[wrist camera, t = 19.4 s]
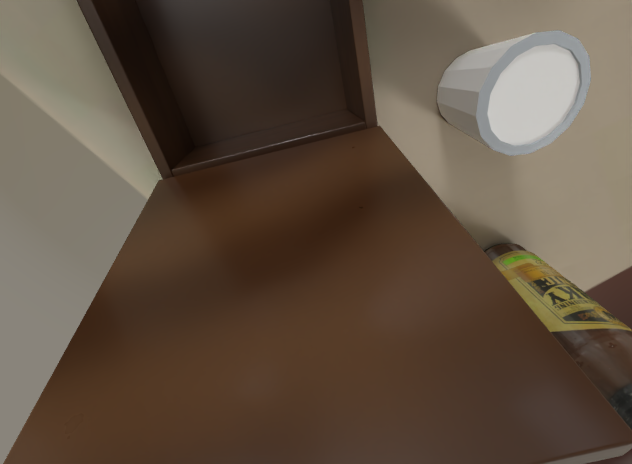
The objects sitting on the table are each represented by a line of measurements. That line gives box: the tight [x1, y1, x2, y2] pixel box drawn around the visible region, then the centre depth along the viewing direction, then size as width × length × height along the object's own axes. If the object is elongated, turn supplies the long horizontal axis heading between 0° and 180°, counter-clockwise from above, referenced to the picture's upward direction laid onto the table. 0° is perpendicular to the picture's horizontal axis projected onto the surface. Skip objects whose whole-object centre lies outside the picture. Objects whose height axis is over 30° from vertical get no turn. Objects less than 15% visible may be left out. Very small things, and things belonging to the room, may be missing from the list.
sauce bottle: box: [485, 244, 632, 430], centre depth 24 cm, size 6×6×20 cm
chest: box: [77, 0, 377, 179], centre depth 18 cm, size 15×13×7 cm
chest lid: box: [3, 126, 632, 464], centre depth 12 cm, size 16×13×1 cm
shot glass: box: [437, 30, 591, 156], centre depth 22 cm, size 7×7×7 cm
